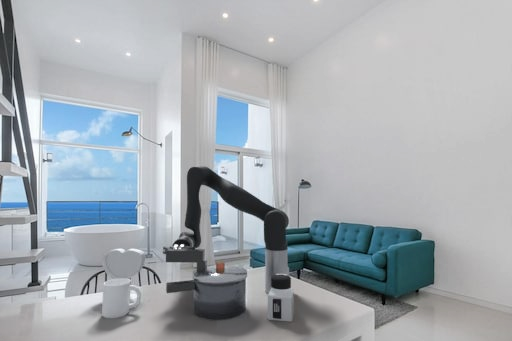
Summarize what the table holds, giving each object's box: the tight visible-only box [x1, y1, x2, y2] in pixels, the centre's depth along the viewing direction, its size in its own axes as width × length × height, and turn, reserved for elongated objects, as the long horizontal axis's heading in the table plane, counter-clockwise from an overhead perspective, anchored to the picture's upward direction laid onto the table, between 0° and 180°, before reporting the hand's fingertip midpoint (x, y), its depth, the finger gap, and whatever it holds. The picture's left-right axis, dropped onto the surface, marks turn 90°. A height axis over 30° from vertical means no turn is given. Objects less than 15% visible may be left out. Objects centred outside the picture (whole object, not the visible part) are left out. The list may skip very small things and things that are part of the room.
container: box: [267, 274, 295, 323], centre depth 94 cm, size 8×8×13 cm
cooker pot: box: [165, 278, 247, 321], centre depth 98 cm, size 27×18×11 cm, turn 111°
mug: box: [101, 278, 142, 319], centre depth 95 cm, size 12×8×10 cm
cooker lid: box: [165, 248, 248, 284], centre depth 100 cm, size 28×19×9 cm, turn 89°
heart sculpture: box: [101, 248, 146, 300], centre depth 111 cm, size 16×5×18 cm, turn 90°
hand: (174, 254), depth 102 cm, fingers closed
